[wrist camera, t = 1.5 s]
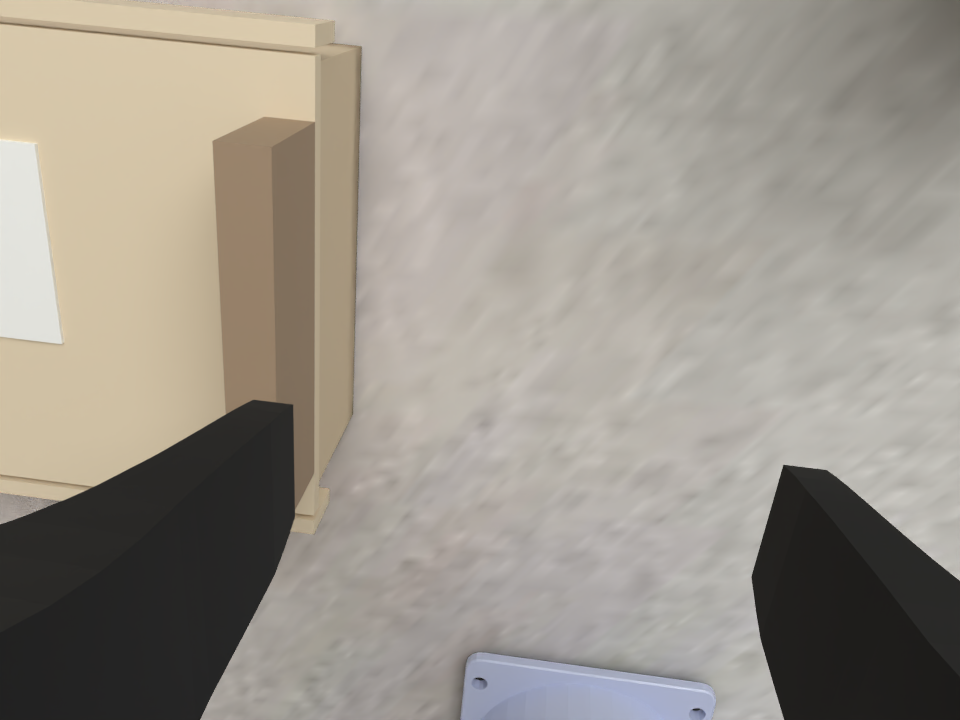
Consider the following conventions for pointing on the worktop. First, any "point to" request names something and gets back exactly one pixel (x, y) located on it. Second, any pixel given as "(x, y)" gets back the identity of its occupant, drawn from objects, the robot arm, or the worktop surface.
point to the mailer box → (334, 216)
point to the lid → (155, 237)
